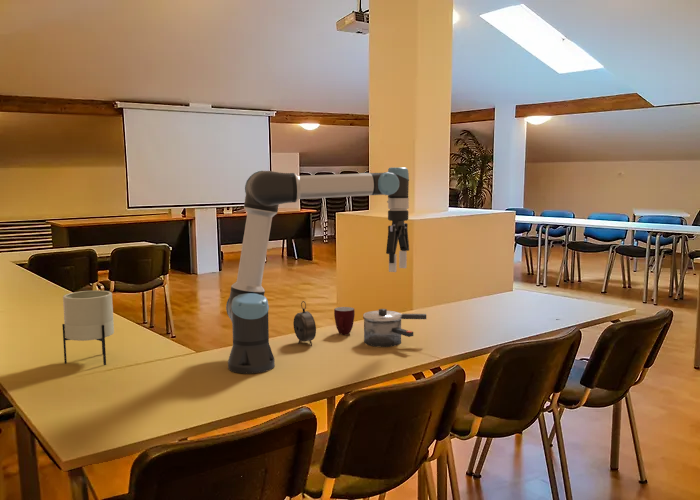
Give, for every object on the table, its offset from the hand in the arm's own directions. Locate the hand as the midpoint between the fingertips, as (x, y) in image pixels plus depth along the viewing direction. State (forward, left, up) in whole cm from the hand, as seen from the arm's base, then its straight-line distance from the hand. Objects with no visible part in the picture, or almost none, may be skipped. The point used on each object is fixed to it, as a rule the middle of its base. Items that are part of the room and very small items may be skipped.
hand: (397, 269), depth 227 cm
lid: (-1, +1, -18) cm, 18 cm away
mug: (-9, +22, -28) cm, 37 cm away
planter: (-99, +45, -28) cm, 112 cm away
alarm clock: (-29, +20, -28) cm, 45 cm away
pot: (-4, -1, -28) cm, 28 cm away
